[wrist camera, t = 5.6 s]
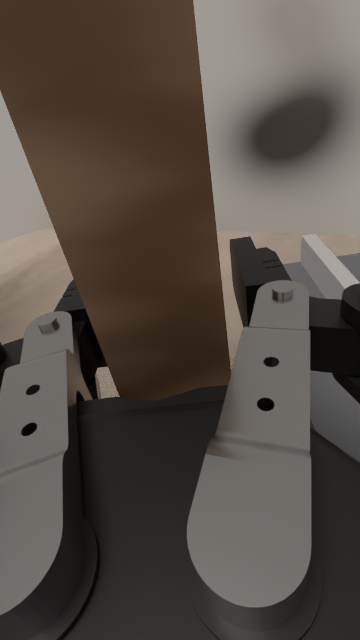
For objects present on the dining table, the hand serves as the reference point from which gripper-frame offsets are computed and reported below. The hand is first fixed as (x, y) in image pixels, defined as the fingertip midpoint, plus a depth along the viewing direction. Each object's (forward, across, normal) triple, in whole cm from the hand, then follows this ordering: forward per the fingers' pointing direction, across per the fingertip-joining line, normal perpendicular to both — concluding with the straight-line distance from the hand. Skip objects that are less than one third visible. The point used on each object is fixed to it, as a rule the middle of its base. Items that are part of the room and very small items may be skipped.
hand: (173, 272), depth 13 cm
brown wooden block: (-3, 0, +9) cm, 9 cm away
